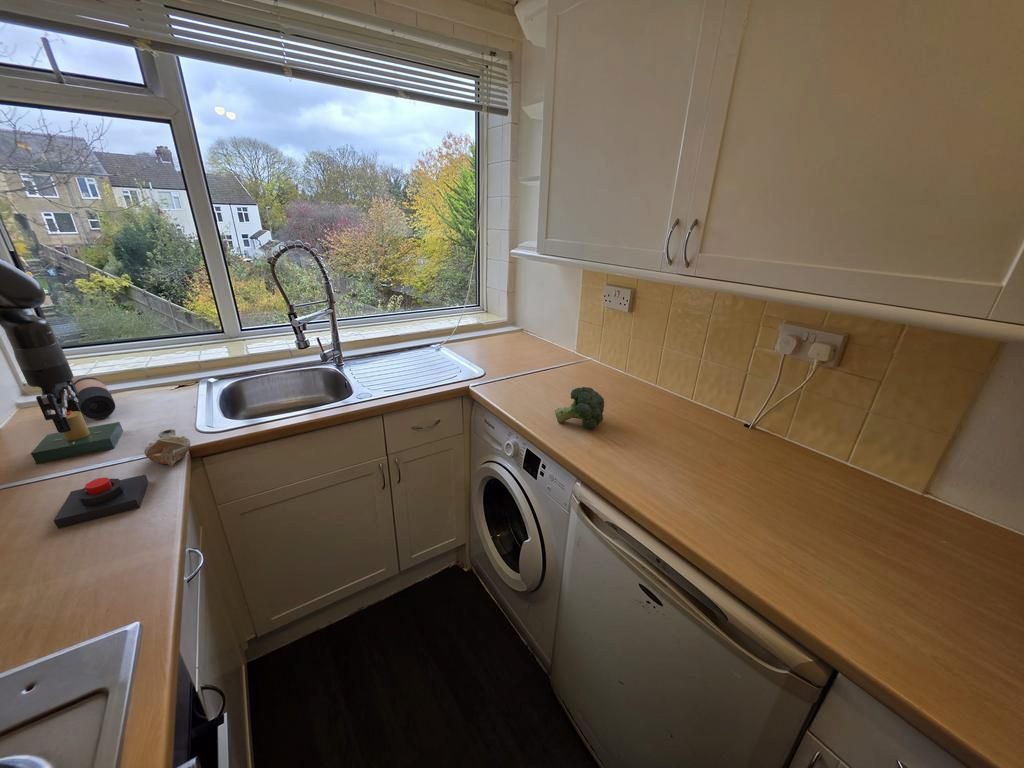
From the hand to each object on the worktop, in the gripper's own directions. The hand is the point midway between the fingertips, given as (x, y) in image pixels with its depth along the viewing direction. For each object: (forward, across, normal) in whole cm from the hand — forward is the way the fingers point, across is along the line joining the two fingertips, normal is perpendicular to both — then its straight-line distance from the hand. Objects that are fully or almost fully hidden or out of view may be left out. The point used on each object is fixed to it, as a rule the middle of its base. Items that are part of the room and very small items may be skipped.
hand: (71, 424), depth 101 cm
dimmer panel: (+6, 0, 0) cm, 7 cm away
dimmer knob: (+3, 0, 0) cm, 3 cm away
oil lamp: (+7, +17, +20) cm, 27 cm away
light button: (+3, +32, +11) cm, 34 cm away
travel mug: (+3, -16, +1) cm, 17 cm away
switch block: (+7, +32, +11) cm, 35 cm away
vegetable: (+6, +55, +119) cm, 131 cm away
